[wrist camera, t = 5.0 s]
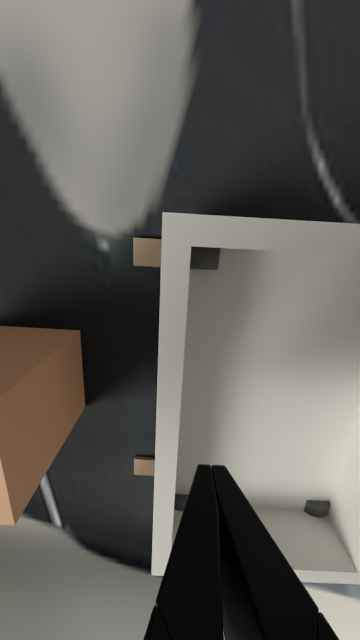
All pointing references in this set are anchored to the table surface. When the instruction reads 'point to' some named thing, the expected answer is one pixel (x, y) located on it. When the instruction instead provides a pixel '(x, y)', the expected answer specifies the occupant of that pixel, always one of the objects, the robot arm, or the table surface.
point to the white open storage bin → (263, 381)
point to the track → (148, 255)
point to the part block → (35, 407)
